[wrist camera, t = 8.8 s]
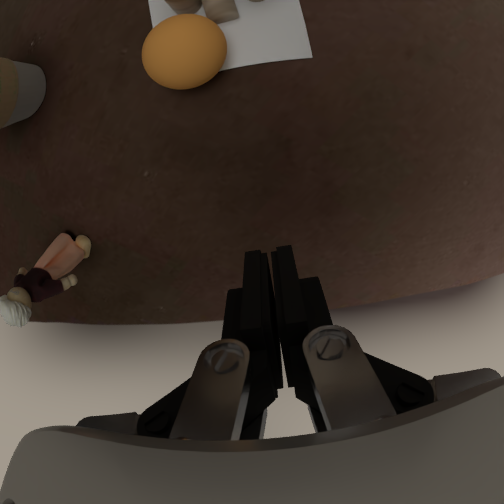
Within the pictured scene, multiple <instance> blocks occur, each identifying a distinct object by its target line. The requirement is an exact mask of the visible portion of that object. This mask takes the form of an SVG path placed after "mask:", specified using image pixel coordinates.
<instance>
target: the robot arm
mask: <svg viewBox="0 0 504 504" xmlns="http://www.w3.org/2000/svg"><path fill="white" fill-rule="evenodd" d="M276 249H277V251H274V252H271V257H272V268H273V279H274V291H275V296H274V291H273V285H272V280H271V274H270V269H269V263H268V258H267V253H261V251H260V250H255V251H249V252H245V260H244V274H243V288H237V289H230V290H228V293H227V300H226V308H225V315H224V323H223V330H222V338H221V340H219V341H216V342H213V343H212V344H210V345H208V346H207V347H206V348H205V349H204V350H203V351H202V352H201V354H200V356H199V358H198V361H197V363H196V366H195V369H194V371H193V374H192V377H191V378H189V379H188V380H187V381H185V382H184V383H182V384H181V385H180V386H179V387H177V388H176V389H174V390H173V391H172V392H170V393H169V394H167V395H166V396H164V397H163V398H162V399H160V400H159V401H158V402H156V403H155V404H153V405H152V406H150V407H149V408H147V409H146V410H145V411H144V412H143V413H142V414H141V415H138V414H137V413H136V412H132V413H124V414H116V415H115V414H114V415H103V416H90V417H86V418H84V419H82V420H81V421H79V423H78V424H77V425H76V426H50V427H44V428H40V429H36V430H34V431H31V432H29V433H28V434H26V435H25V436H24V437H23V438H22V440H21V441H20V442H19V444H18V446H17V448H16V450H15V452H14V454H13V456H12V458H11V461H10V463H9V466H8V468H7V472H6V475H5V477H4V481H3V484H2V487H1V491H0V504H504V377H501V376H500V374H499V373H497V372H496V371H495V370H493V369H490V368H483V369H477V370H472V371H467V372H460V373H453V374H446V375H439V376H434V377H433V379H432V380H426V379H425V378H423V377H421V376H419V375H417V374H414V373H412V372H410V371H407V370H405V369H402V368H400V367H397V366H395V365H393V364H390V363H388V362H385V361H383V360H381V359H379V358H376V357H374V356H372V355H369V354H367V353H364V352H363V351H362V349H361V347H360V345H359V343H358V342H357V340H356V338H355V336H354V335H353V334H352V333H351V332H350V331H349V330H347V329H346V328H344V327H341V326H337V325H333V324H332V320H331V317H330V313H329V310H328V307H327V303H326V300H325V297H324V294H323V290H322V287H321V284H320V281H319V278H318V277H311V278H304V279H299V278H298V274H297V269H296V265H295V260H294V256H293V251H292V247H291V245H287V246H281V247H276ZM280 343H281V348H282V354H283V359H284V365H285V371H286V377H287V382H288V387H295V394H296V398H298V399H299V400H301V401H303V402H304V403H306V404H308V410H309V413H310V416H311V420H312V423H313V426H314V429H315V432H316V433H313V434H307V435H299V436H291V437H282V438H271V439H263V436H264V430H265V424H266V418H267V407H268V406H269V405H270V404H271V403H272V402H274V400H275V398H278V391H277V389H281V388H283V376H282V362H281V351H280Z"/></svg>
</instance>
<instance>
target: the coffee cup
mask: <svg viewBox="0 0 504 504" xmlns="http://www.w3.org/2000/svg"><path fill="white" fill-rule="evenodd" d="M45 92H46V79H45V75H44V73H43V71H42V69H41V68H40V67H39V66H36V65H33V64H28V63H22V62H17V61H11V60H10V59H7V58H1V57H0V129H1V128H3V127H6V126H8V125H11V124H13V123H16V122H18V121H21V120H23V119H26V118H28V117H30V116H31V115H33V114H34V113H35V112H36V111H37V110H38V108H39V107H40V105H41V103H42V101H43V99H44V96H45Z"/></svg>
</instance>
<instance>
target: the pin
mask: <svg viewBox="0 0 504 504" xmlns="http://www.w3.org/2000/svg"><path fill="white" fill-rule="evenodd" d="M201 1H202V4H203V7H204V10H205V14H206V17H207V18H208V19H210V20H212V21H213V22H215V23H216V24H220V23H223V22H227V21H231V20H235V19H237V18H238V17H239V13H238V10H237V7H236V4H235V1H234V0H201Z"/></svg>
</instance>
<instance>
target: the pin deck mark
mask: <svg viewBox="0 0 504 504" xmlns="http://www.w3.org/2000/svg"><path fill="white" fill-rule="evenodd" d="M148 1H149V7H150V14H151V19H152V25H153V28H154V27H155V26H156V25H157V24H159V23H160V22H162V21H163V20H165V19H167V18H169V17H172V16H175V15H178V14H176V13H175V11H174V10H173V9H172V8H171V7H170V6H169V5H168V4H167V3H166V2H165V1H164V0H148ZM234 1H235V4H236V7H237V10H238V13H239V17H238V18H237V19H235V20H231V21H227V22H223V23H220V24H217V25H218V26H219V27H220V29H221V30H222V32H223V33H224V35H225V38H226V42H227V55H226V59H225V61H224V64H223V66H222V67H221V69H220V70H219V71H222V70H227V69H232V68H237V67H243V66H248V65H254V64H261V63H268V62H276V61H284V60H294V59H305V58H313V57H312V52H311V48H310V43H309V39H308V35H307V30H306V26H305V22H304V18H303V14H302V10H301V7H300V3H299V0H264V1H261V2H252V1H249V0H234ZM195 14H197V15H201V16H204V17H206V14H205V10H204V7H203V4H202V6H201V8H200V9H199V11H197V12H196V13H195Z"/></svg>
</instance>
